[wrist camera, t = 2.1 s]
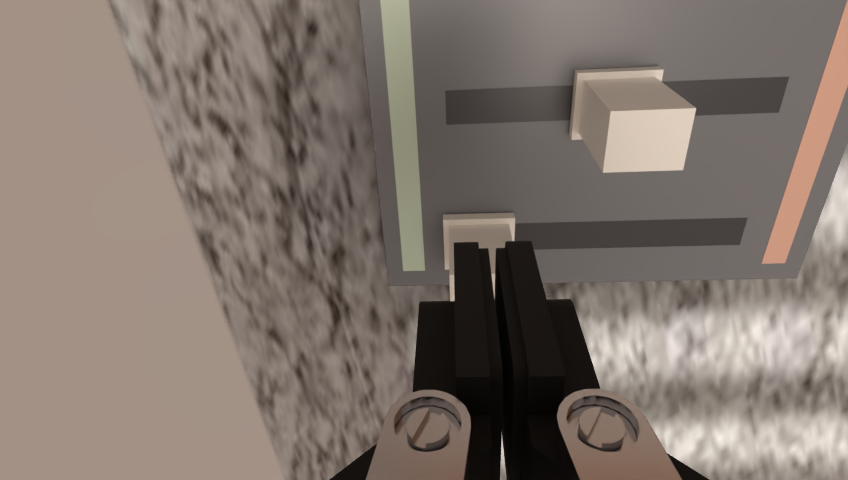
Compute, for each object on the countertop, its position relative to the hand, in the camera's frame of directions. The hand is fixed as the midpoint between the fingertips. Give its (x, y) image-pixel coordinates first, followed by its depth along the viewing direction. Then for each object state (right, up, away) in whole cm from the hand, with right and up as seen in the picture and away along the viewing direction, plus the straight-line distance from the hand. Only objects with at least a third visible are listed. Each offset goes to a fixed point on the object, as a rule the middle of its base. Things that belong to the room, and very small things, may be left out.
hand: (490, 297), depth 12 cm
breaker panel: (+7, +9, +14) cm, 18 cm away
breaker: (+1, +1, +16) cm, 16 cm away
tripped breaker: (+7, +7, +12) cm, 16 cm away
